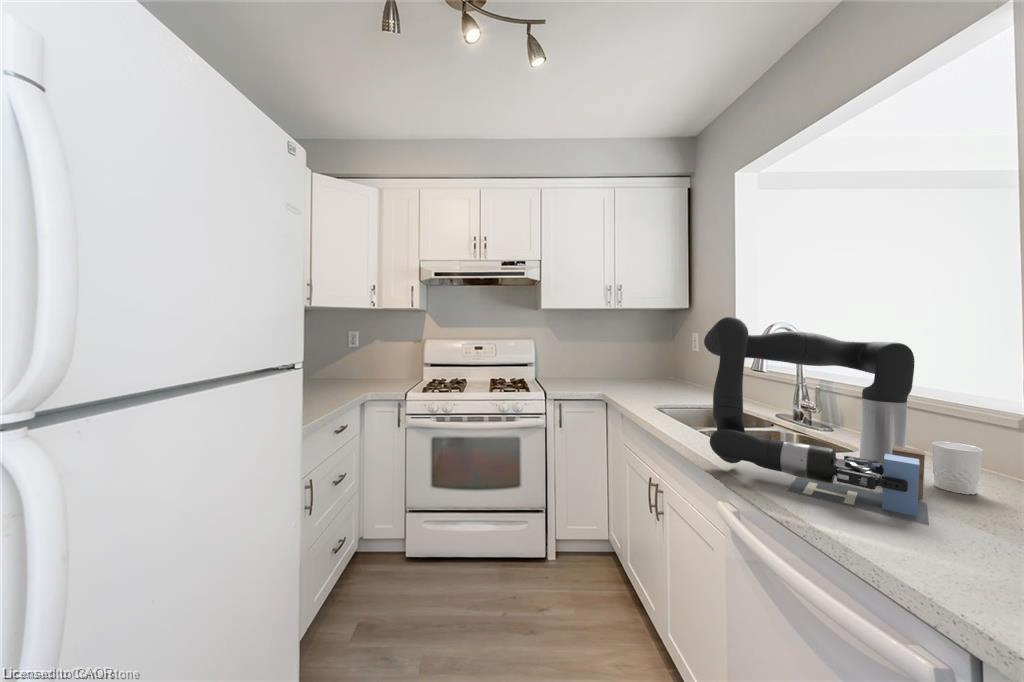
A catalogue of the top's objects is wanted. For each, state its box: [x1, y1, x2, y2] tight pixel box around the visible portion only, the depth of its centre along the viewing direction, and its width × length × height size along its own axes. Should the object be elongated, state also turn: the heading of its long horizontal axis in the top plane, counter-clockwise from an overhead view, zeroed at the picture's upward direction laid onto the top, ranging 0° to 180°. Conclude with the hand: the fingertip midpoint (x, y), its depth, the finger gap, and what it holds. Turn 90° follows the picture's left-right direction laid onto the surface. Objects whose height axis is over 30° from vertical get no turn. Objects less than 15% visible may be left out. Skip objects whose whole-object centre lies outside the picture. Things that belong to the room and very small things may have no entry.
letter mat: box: [786, 476, 930, 526], centre depth 87 cm, size 14×22×1 cm, turn 46°
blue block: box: [882, 454, 920, 517], centre depth 81 cm, size 5×5×10 cm
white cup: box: [931, 440, 984, 496], centre depth 94 cm, size 8×8×10 cm
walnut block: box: [892, 446, 926, 499], centre depth 90 cm, size 5×5×10 cm
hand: (907, 480), depth 80 cm, fingers open, 8 cm apart
